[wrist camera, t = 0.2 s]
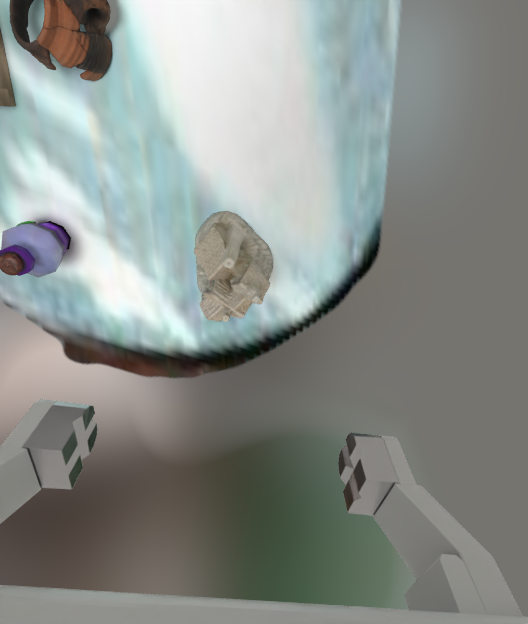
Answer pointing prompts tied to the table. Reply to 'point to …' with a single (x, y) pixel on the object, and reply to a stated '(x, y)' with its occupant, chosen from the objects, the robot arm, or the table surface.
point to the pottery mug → (67, 34)
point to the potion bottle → (33, 248)
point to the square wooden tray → (5, 79)
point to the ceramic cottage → (230, 266)
